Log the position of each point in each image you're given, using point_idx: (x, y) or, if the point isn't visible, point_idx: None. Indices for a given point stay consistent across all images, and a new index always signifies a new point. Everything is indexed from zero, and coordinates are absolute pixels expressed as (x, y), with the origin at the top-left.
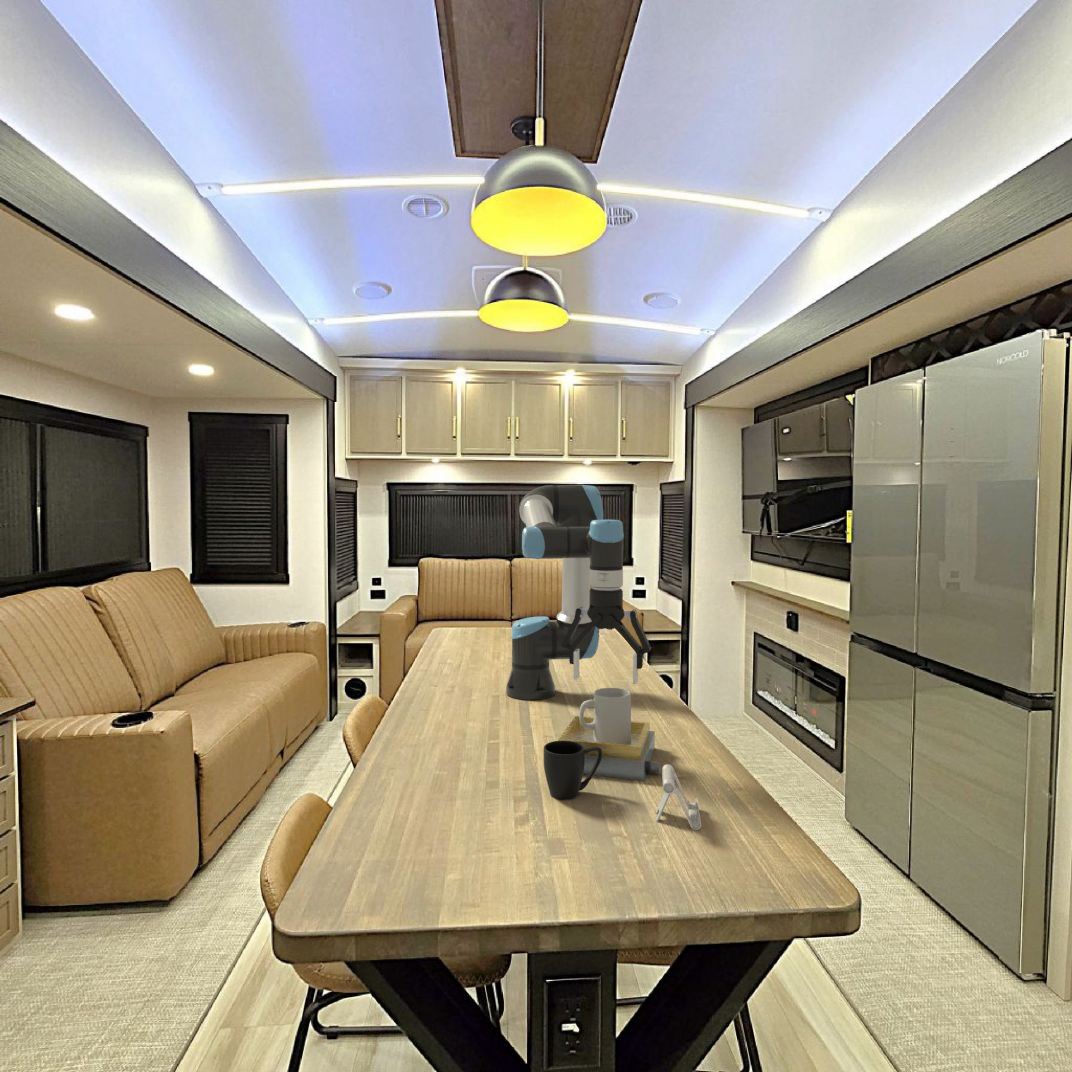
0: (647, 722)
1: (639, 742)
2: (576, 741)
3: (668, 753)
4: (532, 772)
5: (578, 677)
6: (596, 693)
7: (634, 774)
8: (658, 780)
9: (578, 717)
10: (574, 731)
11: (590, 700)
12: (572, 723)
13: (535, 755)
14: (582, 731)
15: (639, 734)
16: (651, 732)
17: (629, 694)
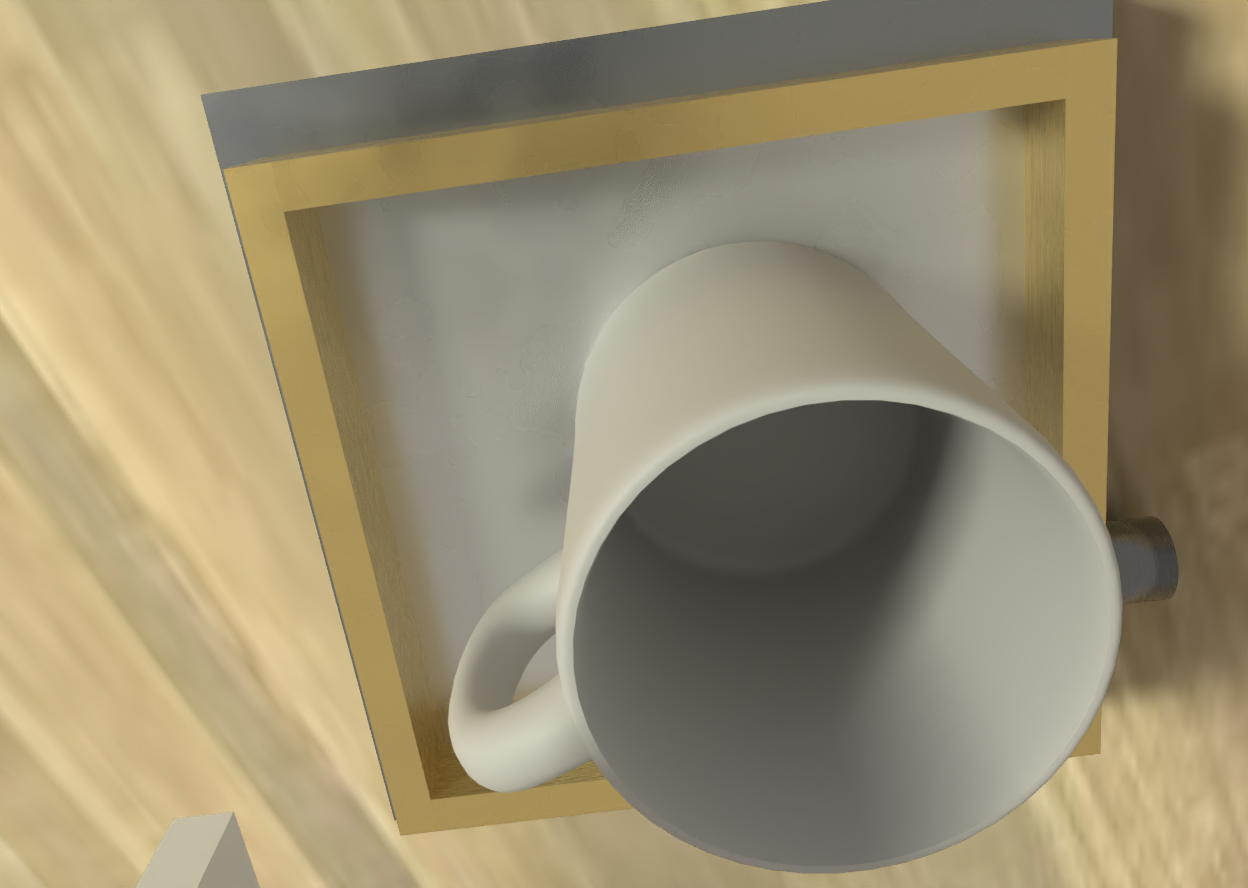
0: (1089, 41)
1: None
2: (556, 816)
3: (1179, 61)
4: (318, 800)
5: (252, 872)
6: (582, 636)
7: None
8: (1134, 616)
9: (277, 204)
10: (354, 389)
11: (563, 766)
12: (315, 424)
13: (170, 547)
14: (407, 307)
15: (973, 158)
16: (1082, 8)
17: (1114, 656)
